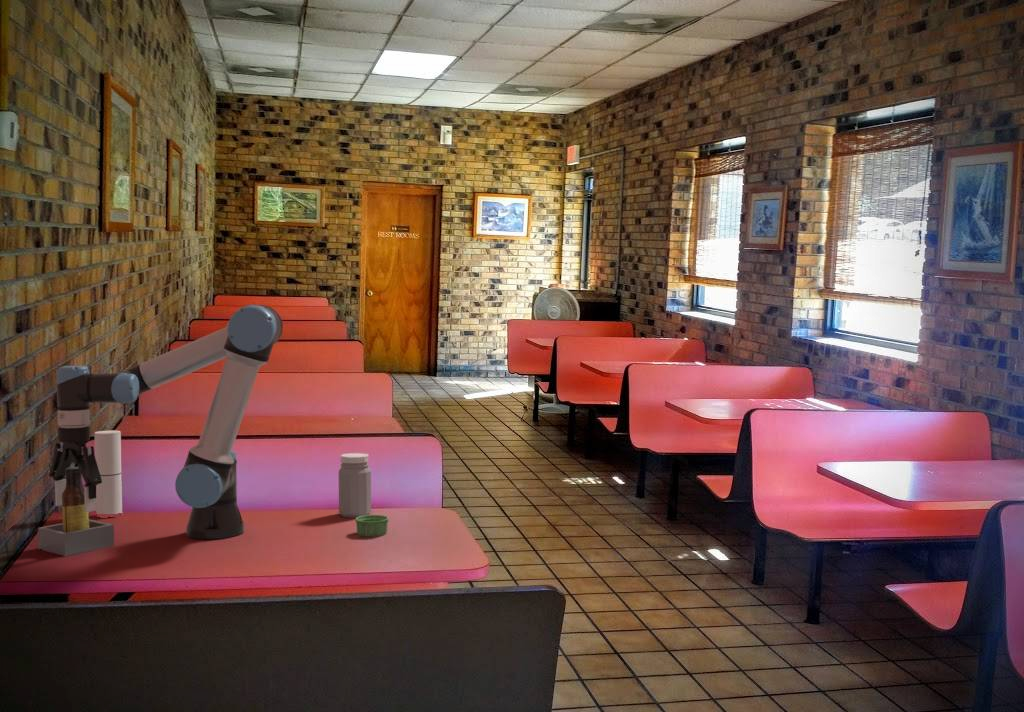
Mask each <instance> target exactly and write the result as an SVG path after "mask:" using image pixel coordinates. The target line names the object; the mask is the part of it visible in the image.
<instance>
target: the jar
mask: <svg viewBox="0 0 1024 712" xmlns="http://www.w3.org/2000/svg"><path fill="white" fill-rule="evenodd" d="M369 455H370V454H368V453H365V452H364V453H363V452H350V453H349V452H348V453H343V454H340V462H341V464H340V468H339V469H338V513H339V514H340V515H341V517H344V518H351V519H352V518H354V519H356V518H357V517H359V516H364V515H371V512H372V470H371V468H370V467H369V465H370V464H369V463H368V462H369V460H370V459H369Z"/></svg>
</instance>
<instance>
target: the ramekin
mask: <svg viewBox="0 0 1024 712" xmlns="http://www.w3.org/2000/svg"><path fill="white" fill-rule="evenodd" d="M354 519H355V524H356V533H357V534H358V536H359V537H364V538H365V537H366V538H367V537H370V538H373V537H374V538H375V537H382V536H385V535H386V534H387V533H388V525H389V517H388V516H387V515H383V514H369V515H364V516H359V517H357V518H354Z"/></svg>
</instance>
